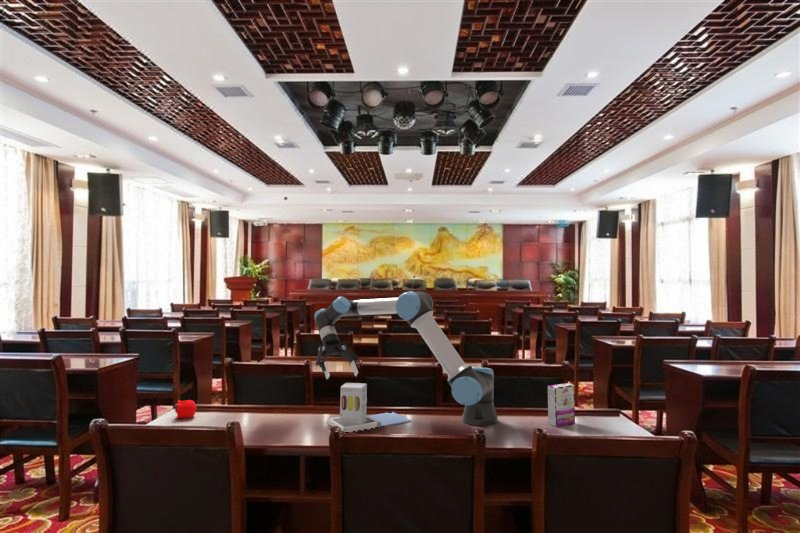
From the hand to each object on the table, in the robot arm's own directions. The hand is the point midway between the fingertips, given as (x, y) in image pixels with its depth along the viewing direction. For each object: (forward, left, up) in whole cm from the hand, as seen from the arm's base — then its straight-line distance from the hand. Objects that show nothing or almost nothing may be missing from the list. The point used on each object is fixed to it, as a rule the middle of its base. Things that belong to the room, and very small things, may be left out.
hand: (342, 375), depth 210 cm
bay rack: (-11, -8, -19) cm, 23 cm away
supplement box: (-11, 0, -19) cm, 22 cm away
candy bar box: (-54, -77, -19) cm, 96 cm away
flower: (+37, +58, -19) cm, 71 cm away
